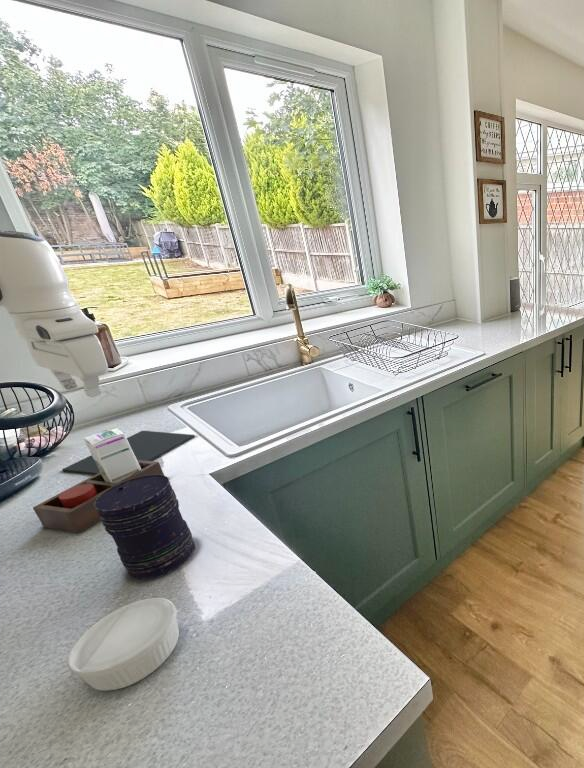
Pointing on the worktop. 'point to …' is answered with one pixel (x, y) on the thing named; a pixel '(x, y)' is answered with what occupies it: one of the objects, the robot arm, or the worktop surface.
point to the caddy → (85, 513)
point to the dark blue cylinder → (146, 526)
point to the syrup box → (112, 455)
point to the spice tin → (77, 495)
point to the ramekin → (126, 644)
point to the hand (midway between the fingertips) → (82, 391)
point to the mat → (137, 449)
